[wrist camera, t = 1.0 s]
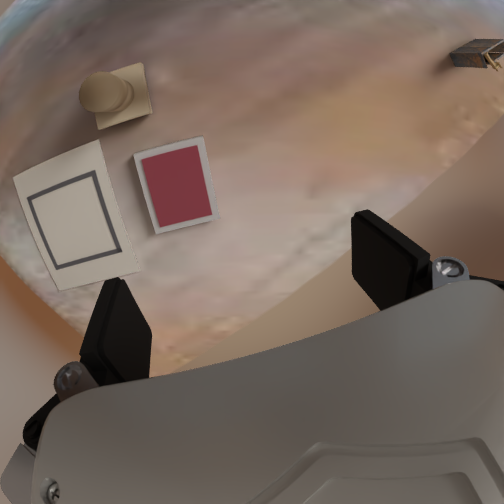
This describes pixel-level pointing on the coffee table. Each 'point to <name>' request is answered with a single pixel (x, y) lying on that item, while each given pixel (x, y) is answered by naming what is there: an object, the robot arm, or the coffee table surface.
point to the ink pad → (177, 184)
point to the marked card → (76, 218)
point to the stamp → (116, 95)
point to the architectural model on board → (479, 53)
